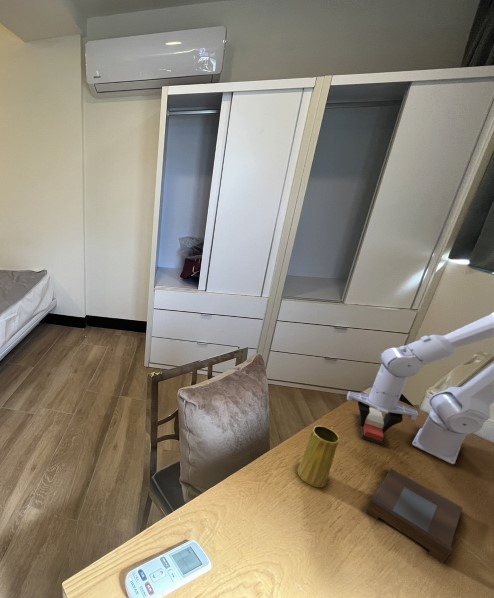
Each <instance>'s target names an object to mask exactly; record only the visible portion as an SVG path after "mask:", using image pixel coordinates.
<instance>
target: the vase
mask: <svg viewBox="0 0 494 598" xmlns="http://www.w3.org/2000/svg"><path fill="white" fill-rule="evenodd" d="M340 440H341V438H340V436H339V434H338V433H337V432H336V431H334V430H333V429H332V428H331V427H328V426H325V425H315V426H314V427H313V428H312V431H311V434H310V435H309V439H308V442H307V444H306V447H305V450H304V452H303V455H302V458H301V460H300V463H299V465H298V467H297V469H296V470H297V474H298V476H299V478H300V479H301V480H302V481H304V482H305V483H306V484H308V485H309V486H311V487H314V488H324V487H325V486H327V483H328V477H329V475H330V472H331V468H332V465H333V461H334V458H335V455H336V454H335V453H336V450H337V447H338V445H339V444H340Z"/></svg>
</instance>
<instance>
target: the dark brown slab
mask: <svg viewBox="0 0 494 598" xmlns="http://www.w3.org/2000/svg"><path fill="white" fill-rule="evenodd" d="M376 491H377V492H376V493H375V495H374V497H373V498H372V499H371V501H370V503H369V505H368V507H367V509H366V511H365V512H366V514H368V515H369V516H370V517H372V518H374V519H375V520H379V518H380V519H381V520H382V521H384V522H386V523H388V525H391V526H392V527H394V529H397V530H398V531H400V532H401V533H403V534H404V535H406V536H407V537H409V538H410V539H412V540H413V541H415V542H416V543H418V544H419V545H421V546H422V547H424V548H426V550H429V551H428V555H430V556H431V557H432V558H434V559H435V560H437V561H438V562H440V563H441V564H444V562H445V561H446V560H447V558H448V557H449V555H450V554H451V553H452V550H453V547H452V543H453V540H454V536H455V533H456V530H457V527H458V524H459V520H460V517H461V514H462V510H463V506H461V505H459V504H457V503H456V502H453V501H452V500H450V499H449V498H446V497H445V496H442V495H440V494H439V493H437V492H435V491H433V490H431V488H430V489H429V488H427V487H426V486H424V485H423V484H420V483H419V482H417V481H415V480H413V479H411V478H410V477H408V476H406V475H404V474H402V473H401V472H399V471H397V470H395V469H393V468H389V471H388V473H387V474H386V476H385V478H384V479H383V481H382V483H381V484H380V486H379V488H378V490H376Z"/></svg>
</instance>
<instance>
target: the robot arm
mask: <svg viewBox="0 0 494 598" xmlns="http://www.w3.org/2000/svg"><path fill="white" fill-rule="evenodd" d="M490 338H494V311H493V312H492V313H490V314H488V315H486V316H483V317H482V318H479V319H477V320H475V321H472V322H471V323H468V324H466V325H463V326H462V327H460V328H457V329H455V330H453V331H451V332H449V333H447V334H444V335H442V334H441V335H440V334H430V335H423V336H421V337H420V339H418V340H415V341H413V342H411V343H408V344H406V345H401V346H398V347H390V348H387V349H385V350H384V351H383V352H381V353H379V359H380V361H381V364H380V367H379V368H378V369H379V370H378V372H377V374H376V377H375V379H374V382H373V385H372V387H371V390H370V392H369V394H368V393H361V392H353V391H350V390H349V391H347V395H346V400H347V401H349V402H352V401H354V402H357V405H358V411H359V415H360V422H359V427H360V426H362V427H363V426H364V424H365V420H366V418H367V416H368V414H369V413H370V410H369V408H374V409H377V410H378V411H379V412H382V414H385V415H384V417H383V421H384V426H383V429H382V431H383V434H385V433H386V432H387V431H388V430H389V429H391V427H393V426H395V425H397V424H400V423H402V422H403V420H404V417H408V418H409V419H411V420H413V421H416V420H417V419H418V417H419V413H418V410H416V409H414V408H411V407H409V406H406V405H403V404H401V403H399V401H400V398H401V396H402V393H403V391H404V389H405V387H406V385H407V382H408V380H409V377H413V376H415V375H417V374H418V372H419V371H420V370H421V369H423V368H424V367H425V366H427V365H429V364H432V363H435V362H438V361H441V360H443V359H446V358H449V357H451V356H453V355H454V354H455V352H456V349H458V348H461V347H464V346H468V345H471V344H473V343H477V342H481V341H484V340H487V339H490ZM428 403H429V405H430V406H431V409H430V412H429V414H428V416H427V418H426V420H425V422H424V424H423V426H422V427H420V428H419V430H418V432H417V433H416V435H415V437H414V439H413V441H412V443H411V445H412V446H414V447H415V448H418V449H419V450H422V451H424V452H426V453H428V454H429V455H432V456H434V457H435V458H438V459H440V460H443V461H445V462H447V463H449V464H450V465H455V464H456V460H457V459H458V455H459V453H460V451H461V447H462V444H463V443H464V441H465V439H466V438H467V436H469V435H471V434H474V433H475V434H476V433H478V432H479V431H480V430H481V429H482V428H483V426H484V423H485V422H487V421H489V419H490V418H491V407H490V406H491V405H492V404H493V403H494V363H492V364H491V365H489V366H488V367H487V368H486V369H484V370H483V371H482V372H480V373H479V374H477V375H476V376H474V377H473V378H472V379H470V380H469V381H468V382H466V383H465V384H464V385H463V386H448V387H447V388H446V389H444V390H441V391H438V392H435V393H433V394H432V395H431V396H430V397H429V399H428ZM403 416H404V417H403Z"/></svg>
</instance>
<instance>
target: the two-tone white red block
mask: <svg viewBox="0 0 494 598" xmlns="http://www.w3.org/2000/svg"><path fill="white" fill-rule="evenodd" d="M369 410H370V413H369V414H368V416H367V418H366V420H365V424H364V426H363V427H362V426H360V425H359V429H360V435H361V439H363V440H366V441H369V442H371V443H374V444H378V445H380V446H382V445H384V439H385V437H384V433H383V431H382V429H383V426H384V421H383V420H384V417H383V413H382V412H379V411H378V410H377V409H376V408H374V407H370V408H369ZM358 421H359V423H360V414H359V416H358Z"/></svg>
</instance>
